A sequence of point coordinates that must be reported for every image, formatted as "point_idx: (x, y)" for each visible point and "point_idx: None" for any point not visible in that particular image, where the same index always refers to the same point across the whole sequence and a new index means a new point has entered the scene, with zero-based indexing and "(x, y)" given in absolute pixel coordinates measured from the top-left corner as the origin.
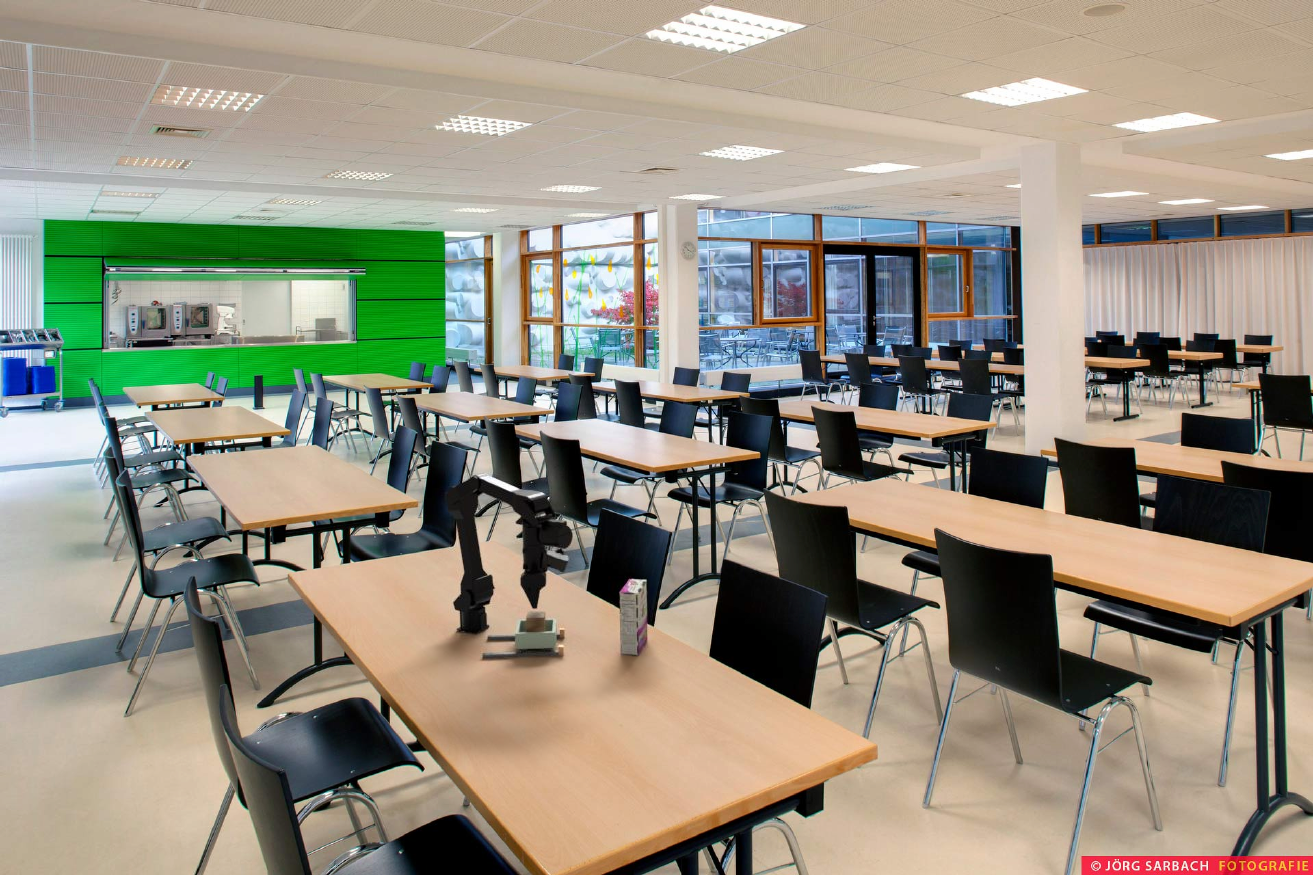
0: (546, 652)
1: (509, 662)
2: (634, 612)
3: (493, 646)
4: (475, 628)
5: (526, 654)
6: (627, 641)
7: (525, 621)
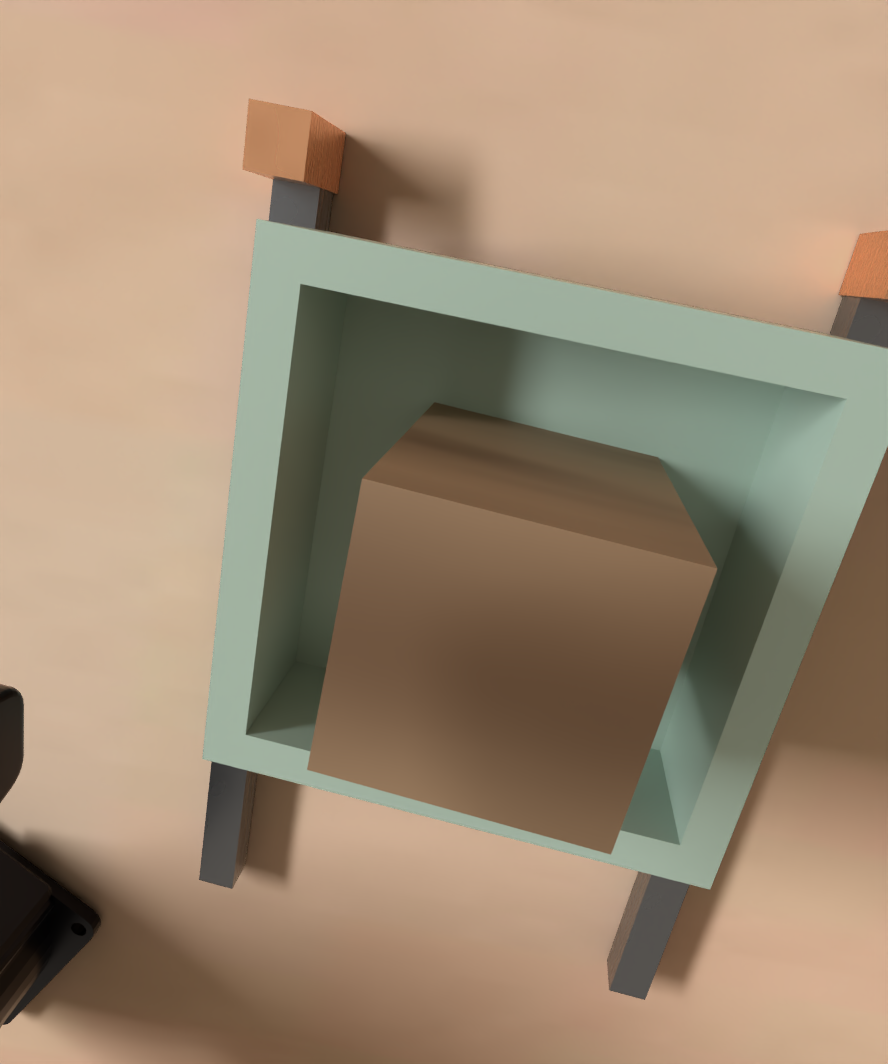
0: None
1: (828, 803)
2: None
3: (392, 846)
4: (34, 935)
5: None
6: None
7: (257, 672)
